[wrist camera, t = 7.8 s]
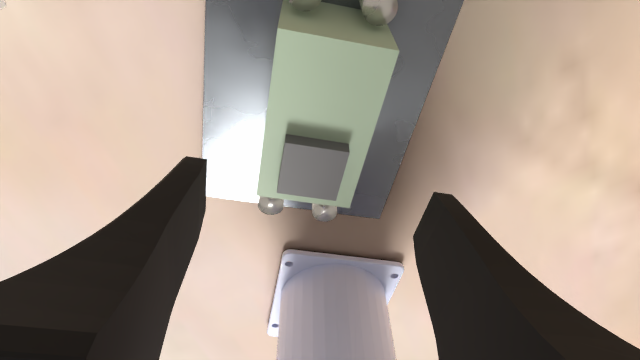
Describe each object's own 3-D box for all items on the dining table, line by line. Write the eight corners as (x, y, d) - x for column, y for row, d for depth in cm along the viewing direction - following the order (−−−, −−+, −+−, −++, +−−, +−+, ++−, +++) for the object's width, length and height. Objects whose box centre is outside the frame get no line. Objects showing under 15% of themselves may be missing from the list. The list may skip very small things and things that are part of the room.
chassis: (377, 209, 24) (385, 251, 22) (204, 186, 23) (190, 228, 20) (477, -58, 16) (510, -41, 13) (212, -119, 14) (190, -113, 12)
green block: (343, 154, 21) (350, 217, 17) (264, 143, 20) (254, 205, 17) (382, 14, 17) (402, 57, 13) (284, -6, 16) (276, 34, 12)
